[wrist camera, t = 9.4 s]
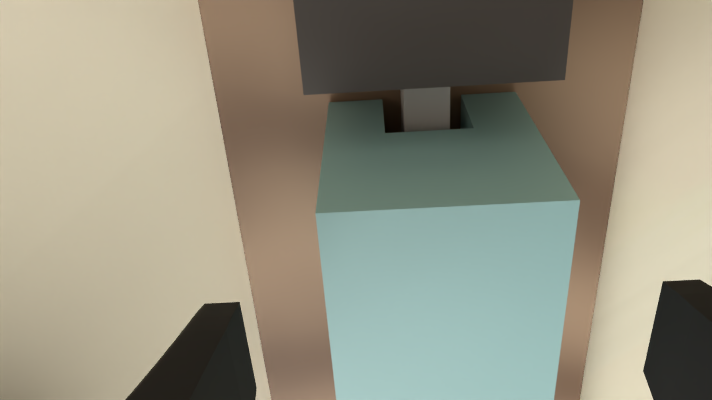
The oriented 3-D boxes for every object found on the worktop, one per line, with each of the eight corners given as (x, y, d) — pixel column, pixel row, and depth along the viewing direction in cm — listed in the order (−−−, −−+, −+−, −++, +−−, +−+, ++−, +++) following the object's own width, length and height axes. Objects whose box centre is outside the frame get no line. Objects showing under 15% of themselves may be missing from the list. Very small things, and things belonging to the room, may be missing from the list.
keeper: (504, 261, 18) (553, 407, 13) (343, 269, 18) (338, 415, 13) (515, 91, 15) (580, 200, 11) (329, 102, 15) (315, 213, 11)
